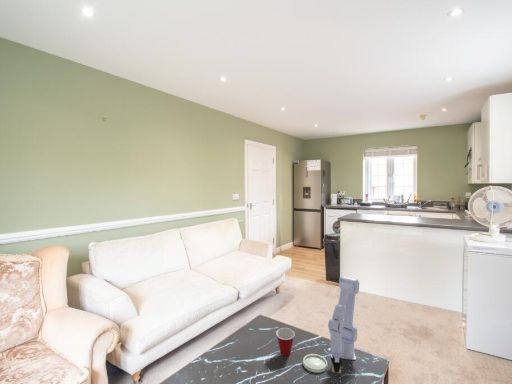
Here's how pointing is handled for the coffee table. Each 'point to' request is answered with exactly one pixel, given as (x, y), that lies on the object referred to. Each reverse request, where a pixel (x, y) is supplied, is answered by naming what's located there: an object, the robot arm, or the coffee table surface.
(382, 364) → the coffee table surface
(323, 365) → the celadon dish
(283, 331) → the plastic cup
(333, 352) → the robot arm
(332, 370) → the birch block
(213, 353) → the coffee table surface
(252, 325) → the coffee table surface
